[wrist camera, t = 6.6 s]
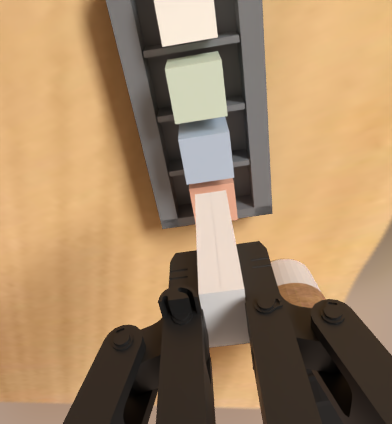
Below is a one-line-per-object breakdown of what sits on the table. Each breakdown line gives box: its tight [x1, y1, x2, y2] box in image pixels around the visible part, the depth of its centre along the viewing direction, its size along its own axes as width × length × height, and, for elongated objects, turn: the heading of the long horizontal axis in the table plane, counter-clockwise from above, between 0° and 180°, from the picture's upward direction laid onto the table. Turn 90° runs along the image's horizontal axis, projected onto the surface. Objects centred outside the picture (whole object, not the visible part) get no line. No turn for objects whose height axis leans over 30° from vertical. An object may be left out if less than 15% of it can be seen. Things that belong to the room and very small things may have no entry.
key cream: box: [154, 0, 218, 47], centre depth 21 cm, size 3×3×3 cm
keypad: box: [106, 0, 272, 229], centre depth 26 cm, size 18×9×2 cm, turn 9°
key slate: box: [178, 117, 234, 185], centre depth 25 cm, size 3×3×3 cm
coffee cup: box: [271, 259, 343, 424], centre depth 30 cm, size 8×8×15 cm
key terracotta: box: [189, 178, 238, 224], centre depth 28 cm, size 3×3×3 cm
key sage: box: [165, 51, 228, 124], centre depth 22 cm, size 3×3×3 cm
